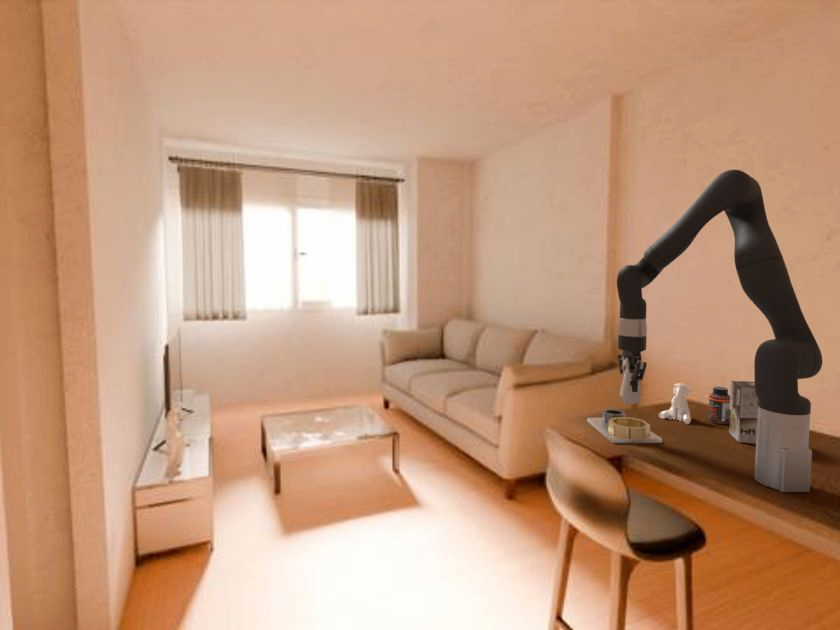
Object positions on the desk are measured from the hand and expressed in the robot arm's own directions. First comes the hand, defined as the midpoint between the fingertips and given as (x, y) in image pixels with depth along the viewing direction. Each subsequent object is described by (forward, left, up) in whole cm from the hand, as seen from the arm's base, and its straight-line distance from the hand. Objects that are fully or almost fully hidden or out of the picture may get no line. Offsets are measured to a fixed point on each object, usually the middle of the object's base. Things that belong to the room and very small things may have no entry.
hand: (630, 391), depth 134 cm
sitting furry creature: (+16, -24, -14) cm, 32 cm away
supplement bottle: (+12, -35, -14) cm, 39 cm away
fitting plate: (+4, 0, -14) cm, 14 cm away
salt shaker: (0, 0, -3) cm, 3 cm away
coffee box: (-3, -33, -14) cm, 36 cm away
